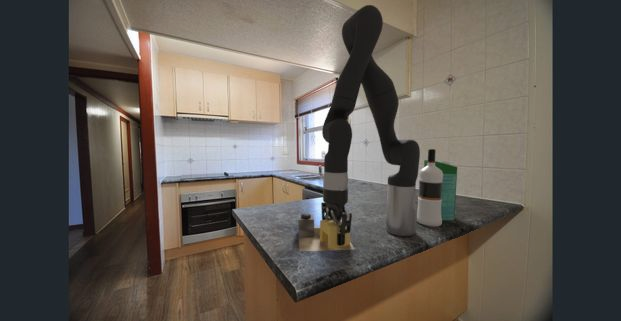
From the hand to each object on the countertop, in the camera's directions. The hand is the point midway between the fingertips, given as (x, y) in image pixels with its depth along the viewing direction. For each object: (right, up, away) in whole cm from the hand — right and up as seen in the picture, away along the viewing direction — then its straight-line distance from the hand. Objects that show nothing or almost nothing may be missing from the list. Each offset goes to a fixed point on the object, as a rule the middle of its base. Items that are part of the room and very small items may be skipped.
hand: (334, 240), depth 64 cm
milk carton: (+49, -1, +28) cm, 56 cm away
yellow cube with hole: (0, -1, 0) cm, 1 cm away
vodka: (+40, -1, +20) cm, 45 cm away
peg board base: (-3, -2, +3) cm, 5 cm away
